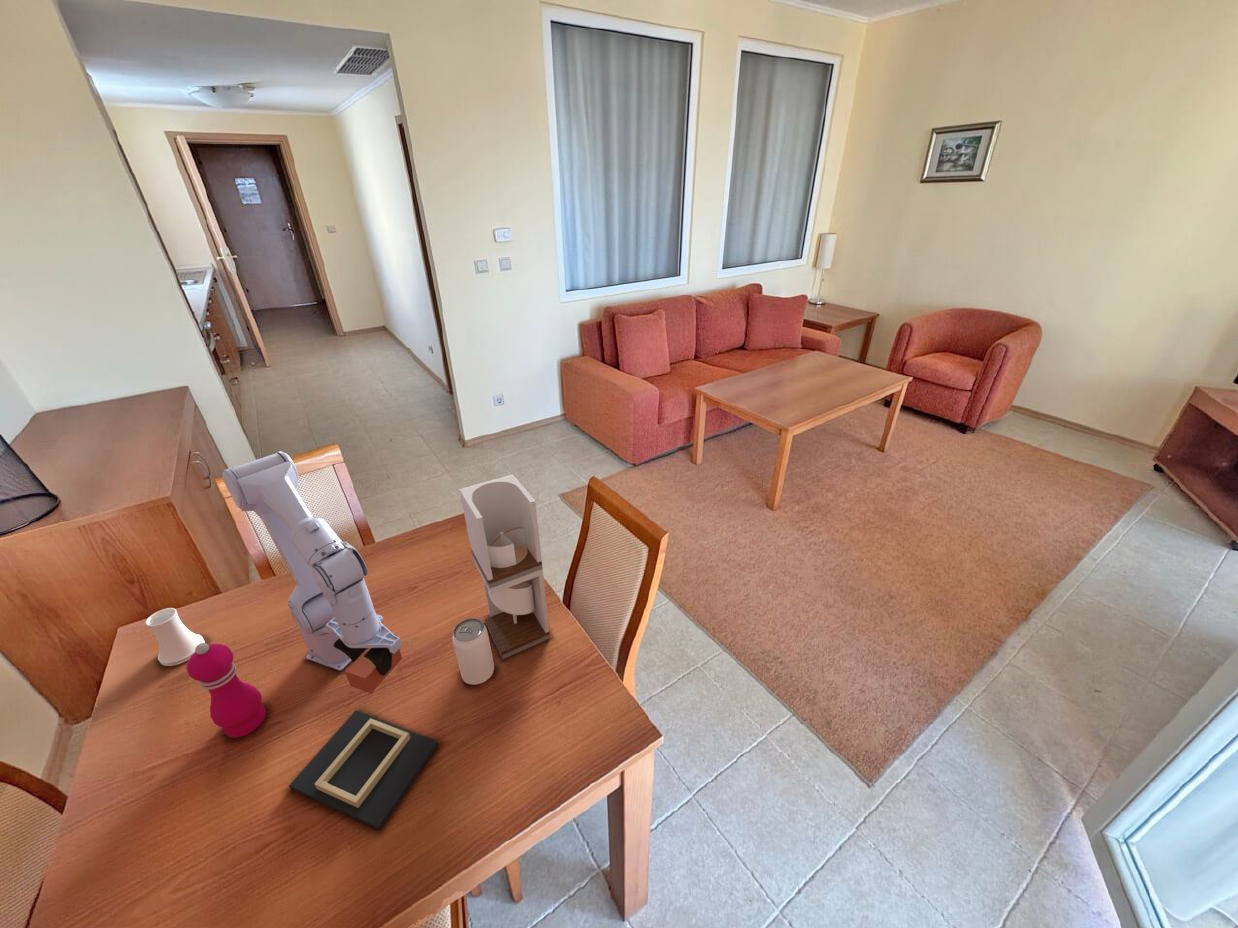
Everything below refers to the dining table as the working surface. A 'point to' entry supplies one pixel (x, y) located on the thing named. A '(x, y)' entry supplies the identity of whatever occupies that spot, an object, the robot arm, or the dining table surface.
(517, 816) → the dining table surface
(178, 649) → the vase
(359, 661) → the reddish brown block
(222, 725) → the pepper mill
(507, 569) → the white tower stand
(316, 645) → the robot arm
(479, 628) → the can
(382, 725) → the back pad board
